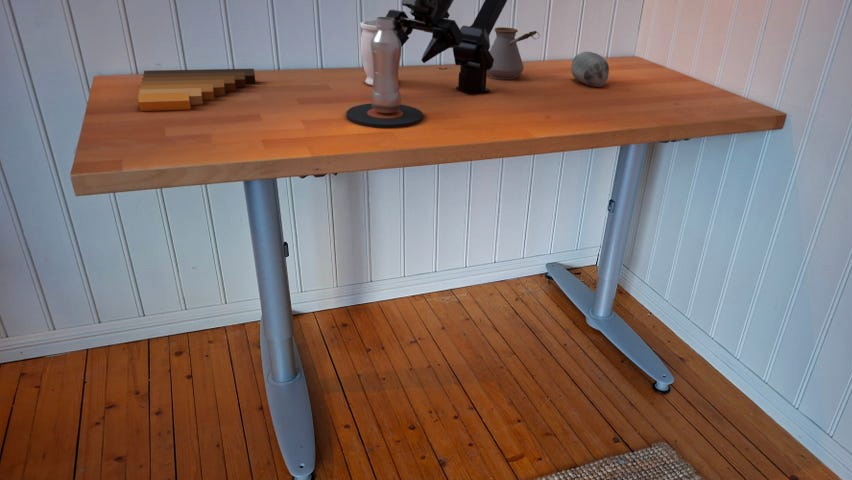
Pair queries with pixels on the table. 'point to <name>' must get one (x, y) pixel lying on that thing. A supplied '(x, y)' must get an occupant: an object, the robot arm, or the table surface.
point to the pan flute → (188, 87)
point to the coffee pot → (507, 54)
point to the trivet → (384, 116)
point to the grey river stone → (590, 69)
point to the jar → (368, 48)
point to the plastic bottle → (385, 67)
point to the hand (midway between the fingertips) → (406, 58)
